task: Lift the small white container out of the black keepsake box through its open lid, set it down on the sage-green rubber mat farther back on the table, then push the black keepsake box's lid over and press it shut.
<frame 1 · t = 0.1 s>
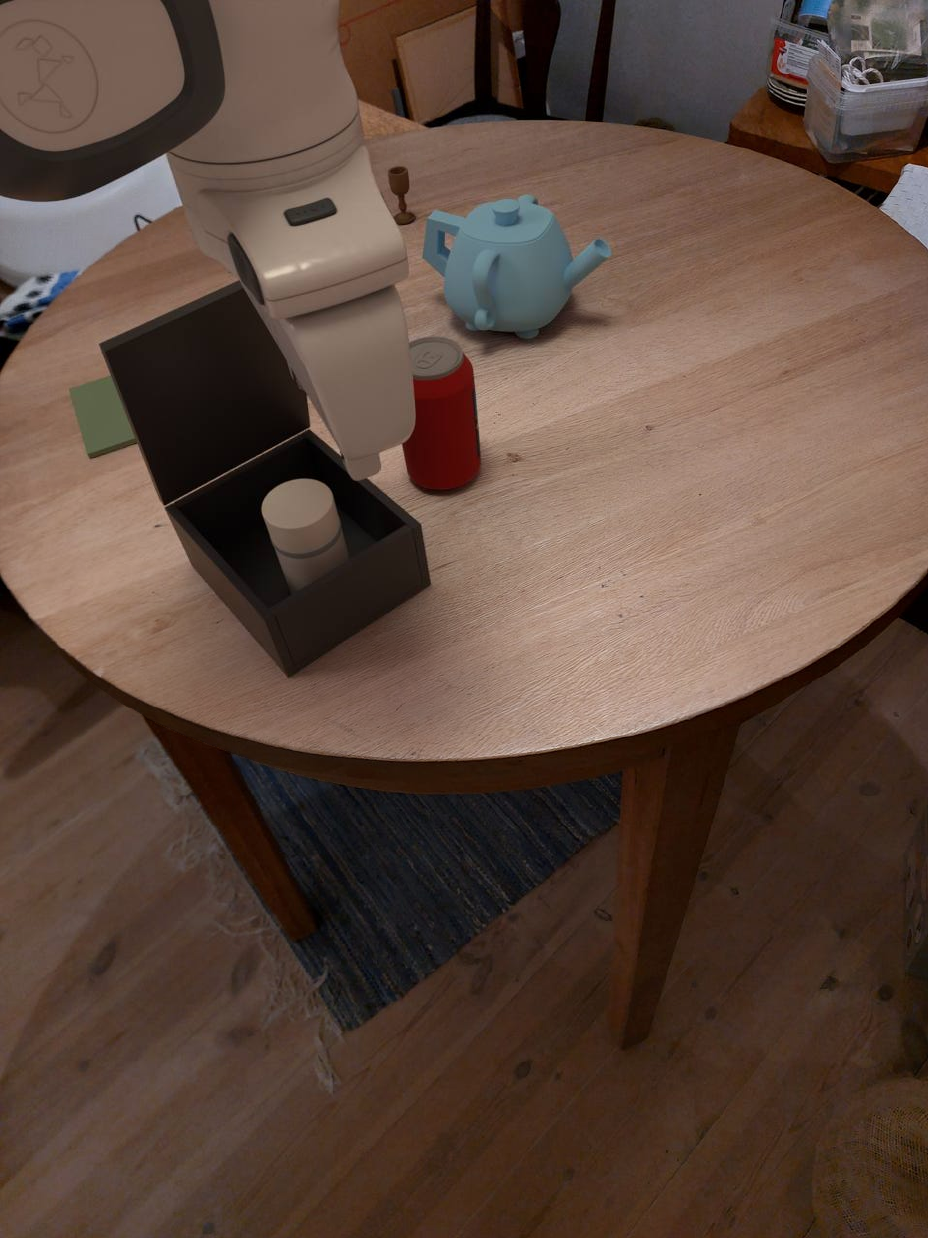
hand: (335, 424, 51), 20 cm above the table, tool pointing down, fingers open, 8 cm apart
dark hinged box lid: (220, 391, 63), point 15 cm above the table, hinge at 75.0°
pill bottle: (345, 379, 89), on the table
place setting: (321, 244, 107), on the table
beverage can: (444, 472, 78), on the table
teapot: (516, 315, 93), on the table
container: (323, 585, 70), point 1 cm above the table, touching black keepsake box
mat: (138, 405, 88), on the table
black keepsake box: (308, 575, 71), on the table
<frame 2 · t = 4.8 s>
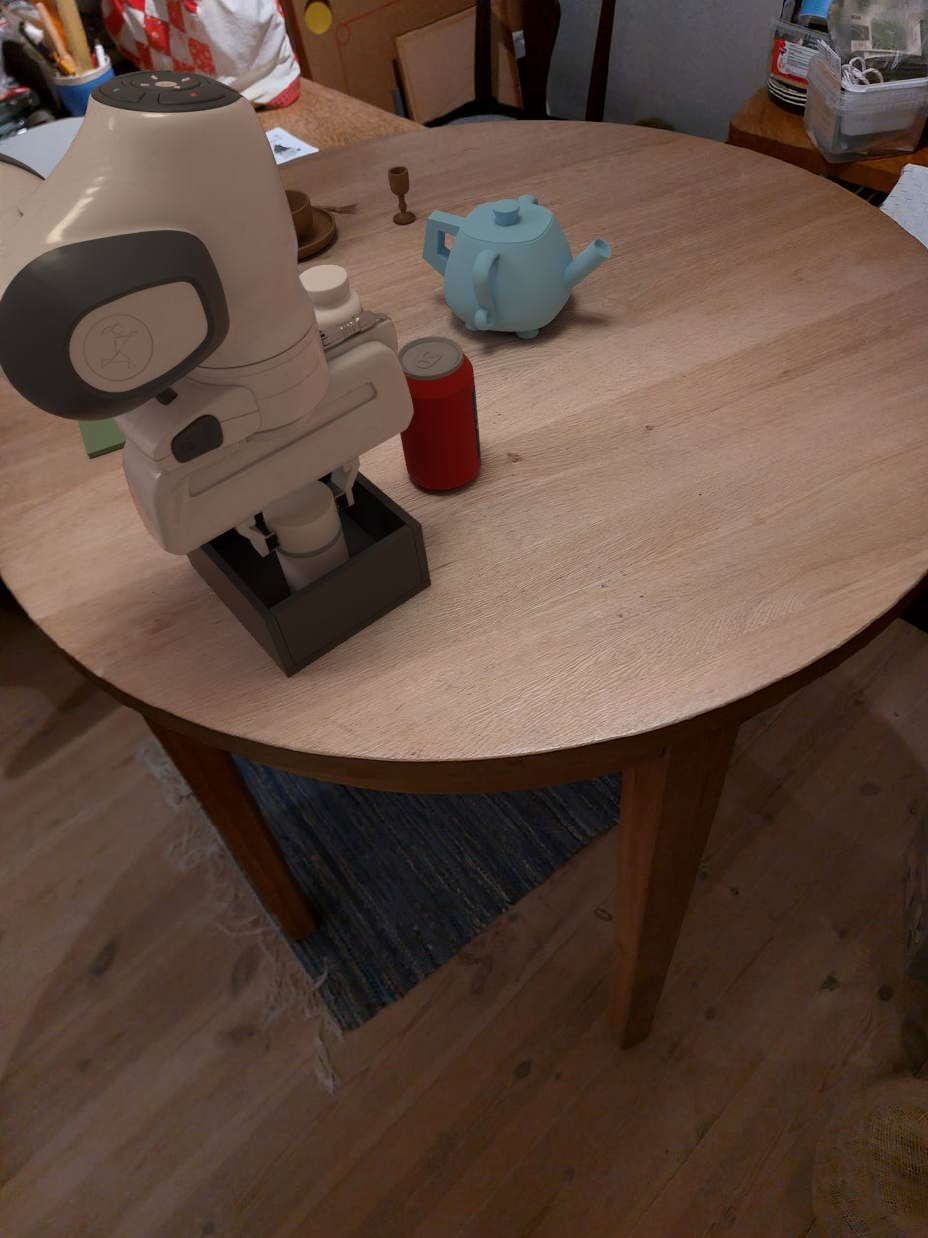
hand: (304, 526, 64), 7 cm above the table, tool pointing down, fingers closed on container, 5 cm apart
container: (323, 585, 70), point 1 cm above the table, touching black keepsake box, gripper
everything else where it was.
when the fingers open (7 cm above the table, at t = 15.3 s): container stays where it is, resting on mat.
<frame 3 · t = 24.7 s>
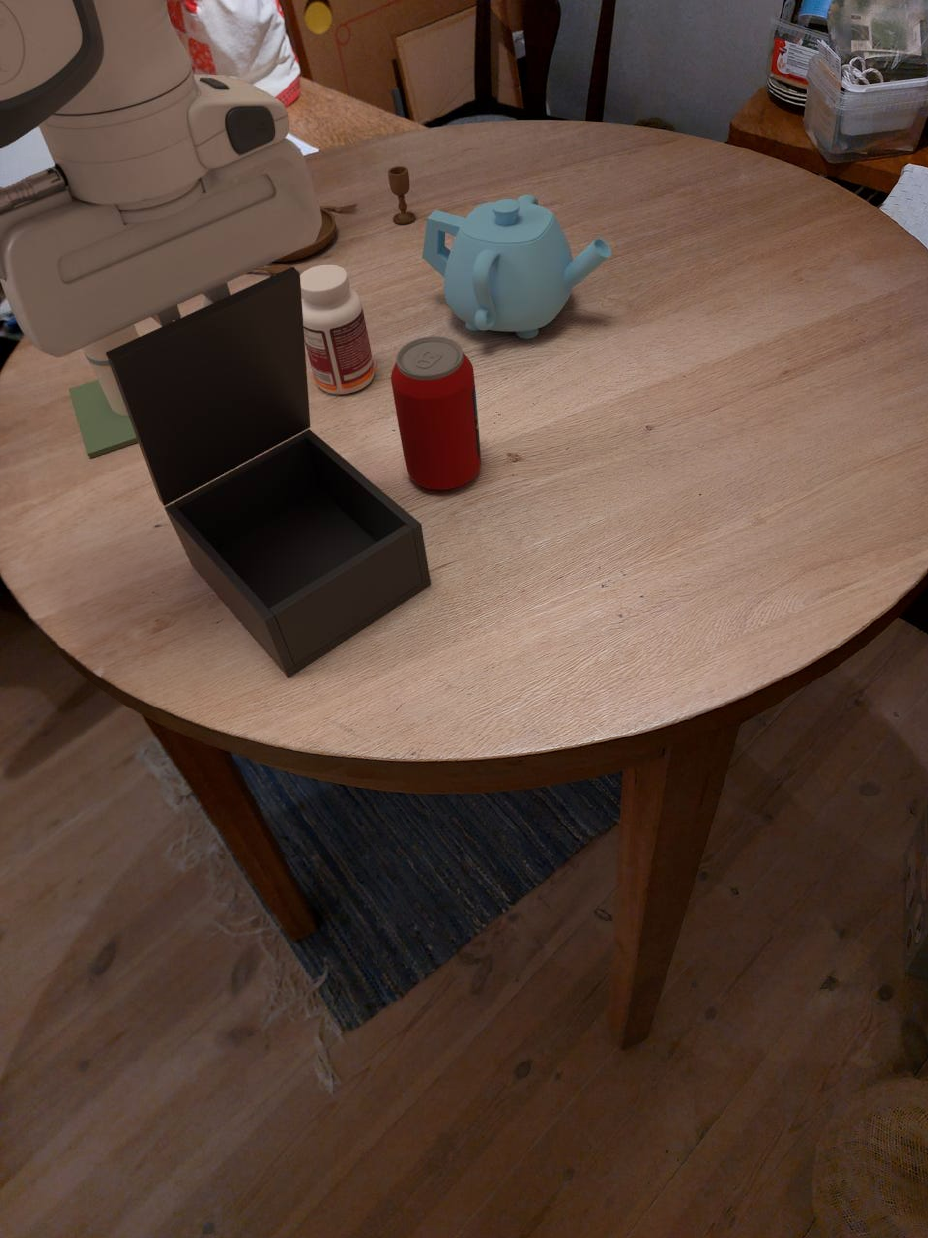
hand: (206, 351, 60), 19 cm above the table, tool pointing down, fingers closed
dark hinged box lid: (223, 395, 63), point 15 cm above the table, hinge at 72.0°, touching gripper
container: (137, 400, 88), point 1 cm above the table, touching mat
everything else where it was.
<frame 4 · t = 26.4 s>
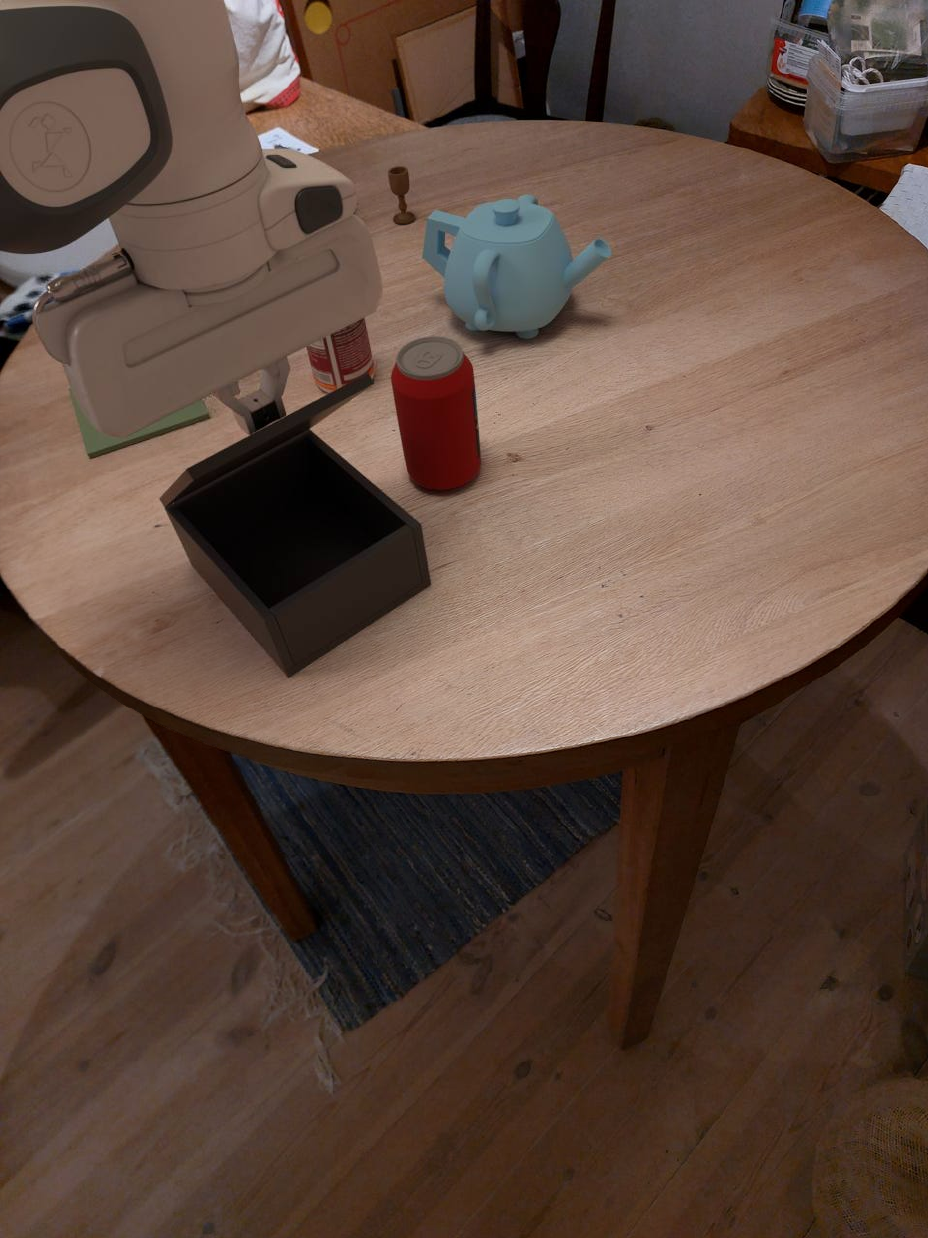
hand: (262, 421, 59), 16 cm above the table, tool pointing down, fingers closed, pressing on dark hinged box lid
dark hinged box lid: (258, 445, 63), point 13 cm above the table, hinge at 41.0°, touching gripper
everything else where it was.
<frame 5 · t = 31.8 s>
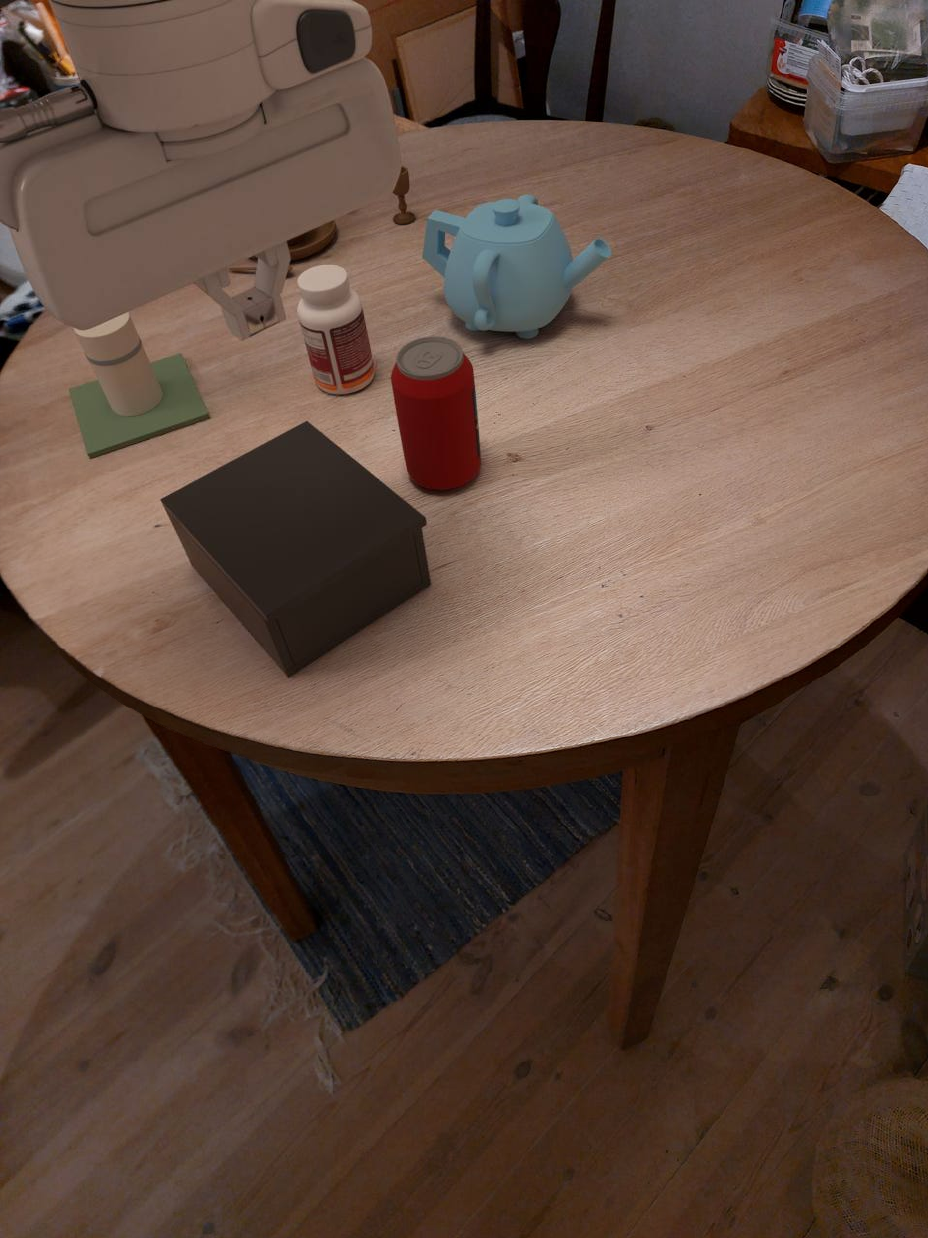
hand: (258, 326, 49), 25 cm above the table, tool pointing down, fingers closed
dark hinged box lid: (289, 511, 66), point 7 cm above the table, hinge at 1.4°
everything else where it was.
at the end: container inside the target area on the mat (0.1 cm from its centre), point 0.6 cm above the mat's base; container tilted 0°; dark hinged box lid at +1° (first picture: +75°) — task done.
